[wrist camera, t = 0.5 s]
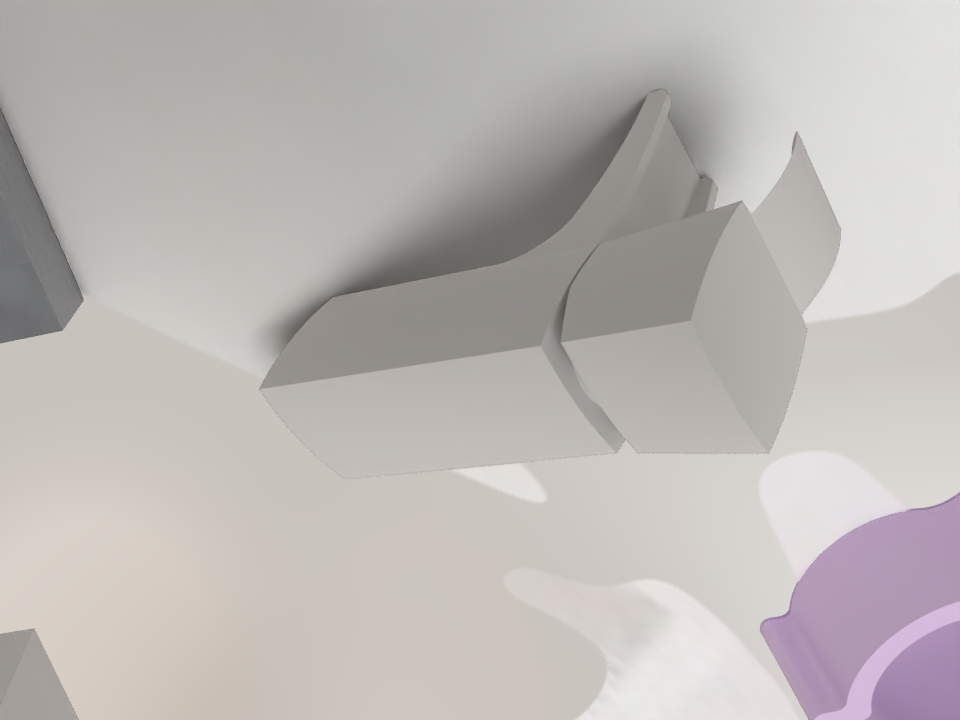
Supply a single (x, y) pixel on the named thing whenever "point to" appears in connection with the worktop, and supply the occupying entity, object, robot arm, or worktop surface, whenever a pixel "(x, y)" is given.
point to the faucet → (578, 331)
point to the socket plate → (29, 256)
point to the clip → (878, 622)
